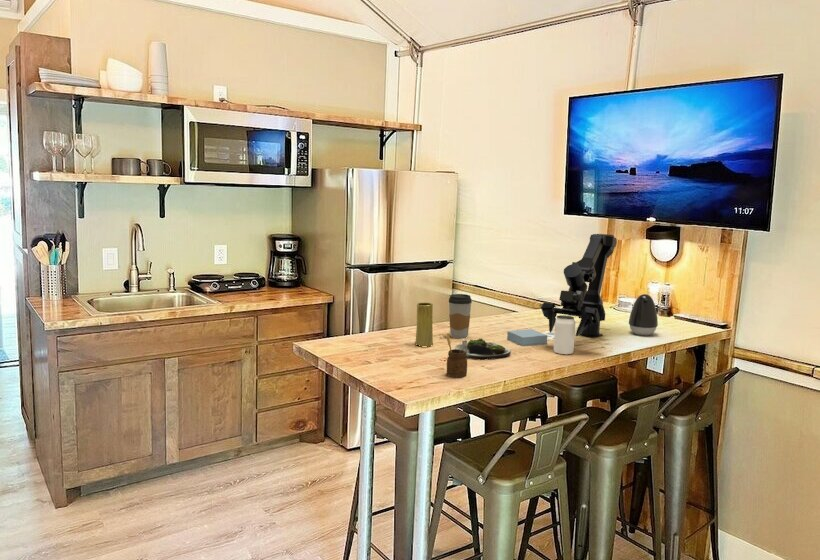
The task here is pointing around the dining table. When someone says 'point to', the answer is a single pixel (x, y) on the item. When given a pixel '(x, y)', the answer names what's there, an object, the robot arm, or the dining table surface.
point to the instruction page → (549, 335)
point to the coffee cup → (459, 315)
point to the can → (564, 335)
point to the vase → (424, 324)
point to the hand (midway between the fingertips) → (563, 333)
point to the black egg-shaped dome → (643, 316)
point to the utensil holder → (456, 361)
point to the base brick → (527, 337)
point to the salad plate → (483, 349)
